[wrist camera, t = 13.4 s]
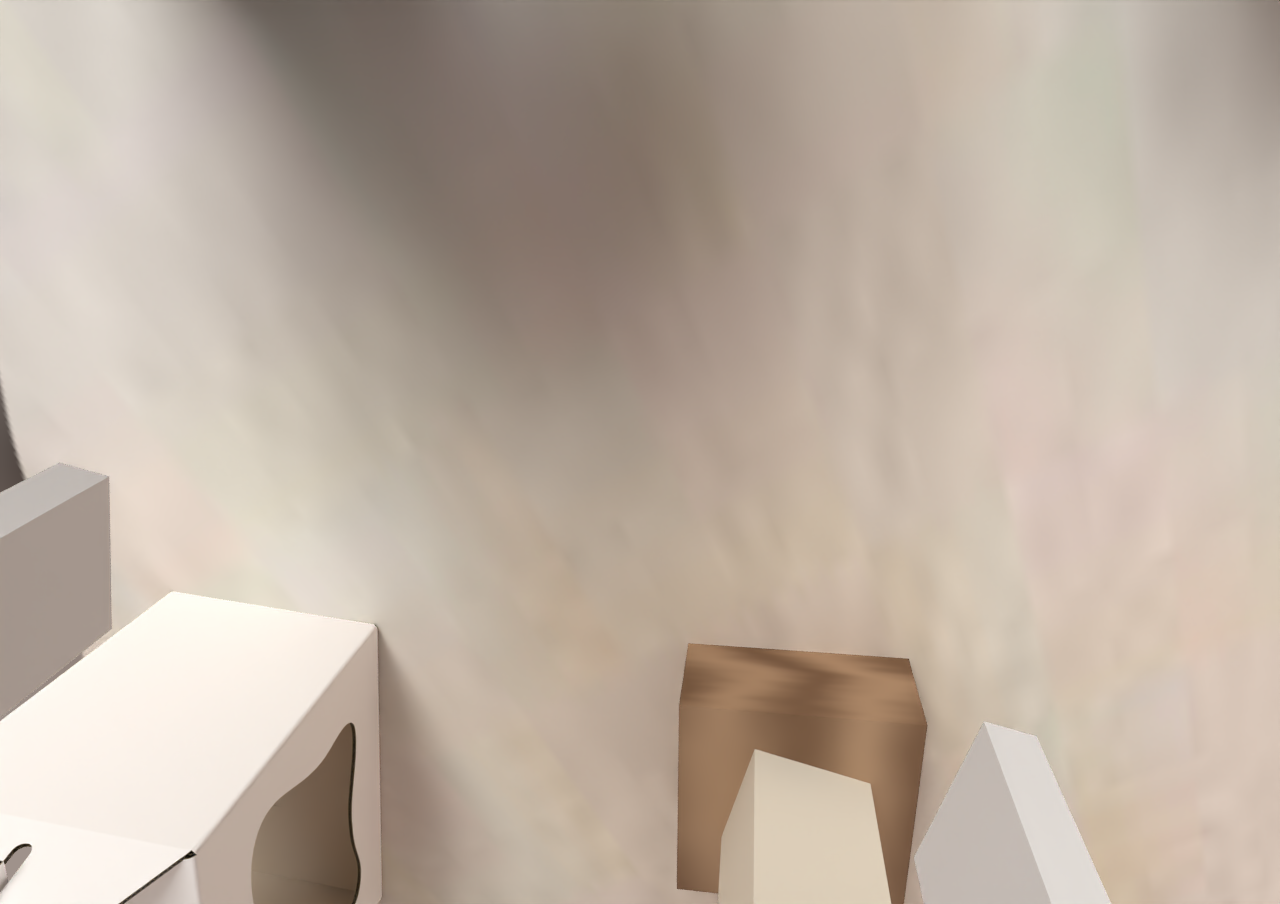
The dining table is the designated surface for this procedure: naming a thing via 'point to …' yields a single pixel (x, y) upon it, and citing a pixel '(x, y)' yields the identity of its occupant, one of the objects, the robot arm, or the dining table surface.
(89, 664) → the gable box
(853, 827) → the cream block
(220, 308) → the dining table surface
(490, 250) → the dining table surface
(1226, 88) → the dining table surface
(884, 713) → the walnut block
